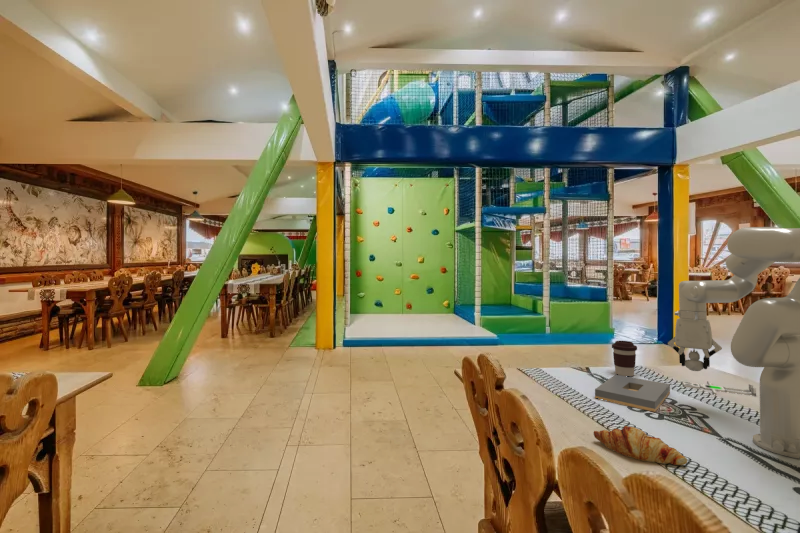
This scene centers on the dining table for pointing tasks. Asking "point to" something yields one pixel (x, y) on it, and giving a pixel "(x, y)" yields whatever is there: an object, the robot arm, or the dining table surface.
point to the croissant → (639, 446)
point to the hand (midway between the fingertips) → (694, 366)
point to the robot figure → (720, 388)
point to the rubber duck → (694, 361)
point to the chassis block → (633, 392)
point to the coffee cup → (624, 357)
